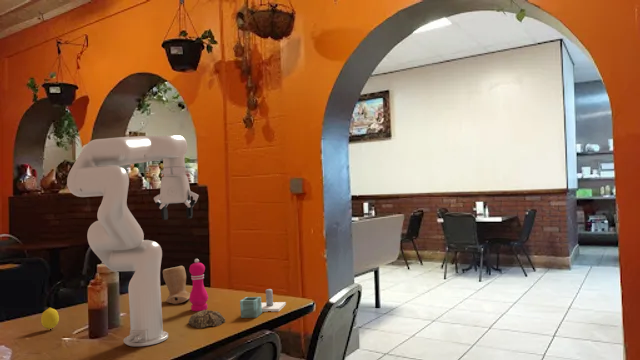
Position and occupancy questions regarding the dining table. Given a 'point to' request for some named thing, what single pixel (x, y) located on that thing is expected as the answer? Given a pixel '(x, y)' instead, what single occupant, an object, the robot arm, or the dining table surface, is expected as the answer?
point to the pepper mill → (198, 287)
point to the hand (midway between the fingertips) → (177, 218)
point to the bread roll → (206, 319)
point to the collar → (251, 307)
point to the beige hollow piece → (176, 284)
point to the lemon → (49, 318)
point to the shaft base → (273, 308)
